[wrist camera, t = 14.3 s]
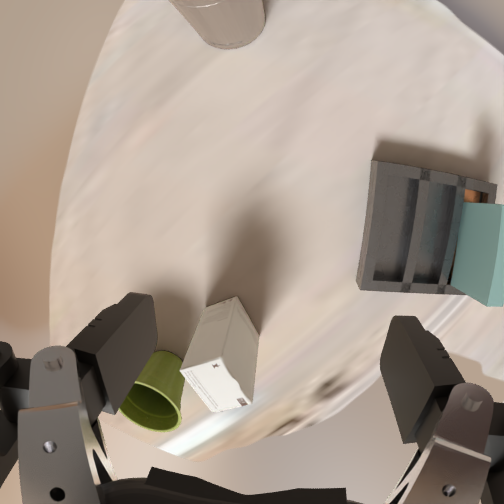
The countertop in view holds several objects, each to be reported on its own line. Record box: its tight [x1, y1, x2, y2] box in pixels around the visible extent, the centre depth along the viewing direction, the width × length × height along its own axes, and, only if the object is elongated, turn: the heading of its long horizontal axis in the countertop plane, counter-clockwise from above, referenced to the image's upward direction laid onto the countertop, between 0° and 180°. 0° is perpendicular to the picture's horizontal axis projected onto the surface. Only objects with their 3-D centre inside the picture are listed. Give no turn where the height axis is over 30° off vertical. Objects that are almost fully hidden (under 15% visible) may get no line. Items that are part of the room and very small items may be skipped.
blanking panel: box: [451, 202, 504, 307], centre depth 32 cm, size 12×3×10 cm, turn 177°
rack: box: [356, 160, 497, 295], centre depth 38 cm, size 17×20×3 cm
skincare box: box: [179, 296, 259, 413], centre depth 40 cm, size 8×6×15 cm
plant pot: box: [118, 351, 185, 432], centre depth 46 cm, size 12×12×11 cm
